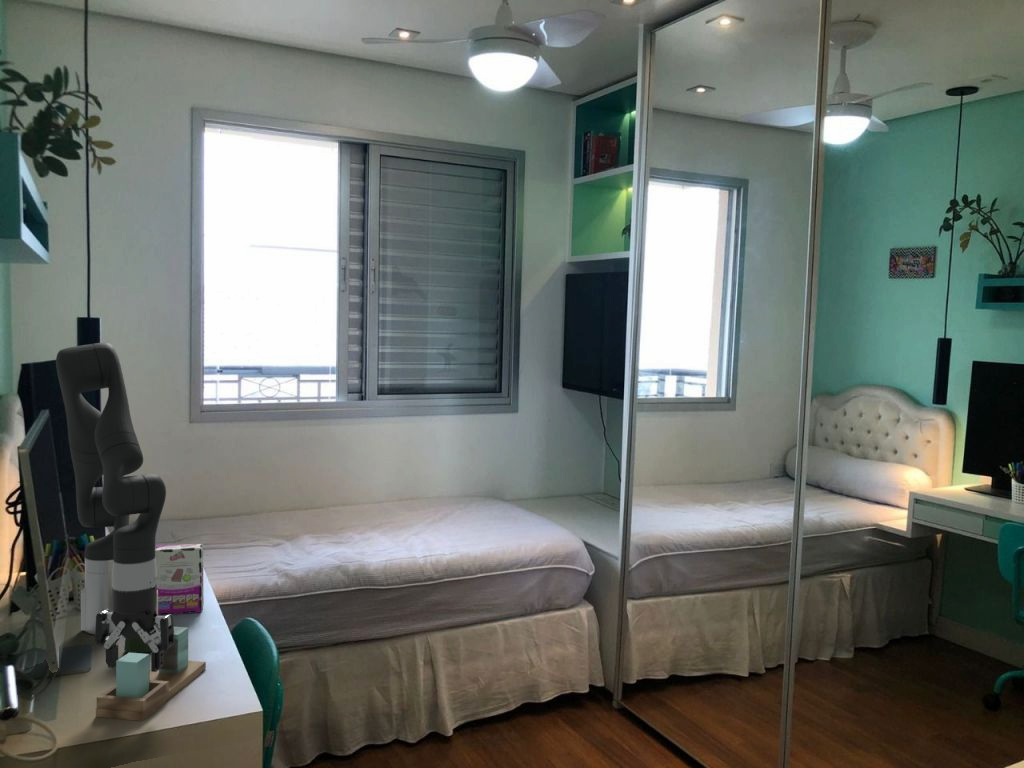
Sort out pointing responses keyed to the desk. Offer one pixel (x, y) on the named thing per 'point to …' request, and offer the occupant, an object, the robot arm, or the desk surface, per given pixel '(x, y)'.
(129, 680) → the teal rectangular prism
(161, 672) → the wooden tray with block
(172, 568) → the candy bar box
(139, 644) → the character mug
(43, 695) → the desk surface
